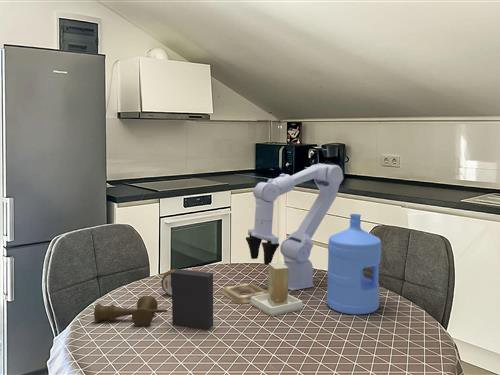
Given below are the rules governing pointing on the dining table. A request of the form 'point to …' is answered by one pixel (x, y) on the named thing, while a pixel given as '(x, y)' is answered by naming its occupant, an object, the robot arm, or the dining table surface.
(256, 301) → the tray
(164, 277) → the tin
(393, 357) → the dining table surface
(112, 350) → the dining table surface
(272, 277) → the skincare box
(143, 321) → the kendama
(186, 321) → the black upright block
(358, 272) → the water jug
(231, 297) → the wooden square frame
